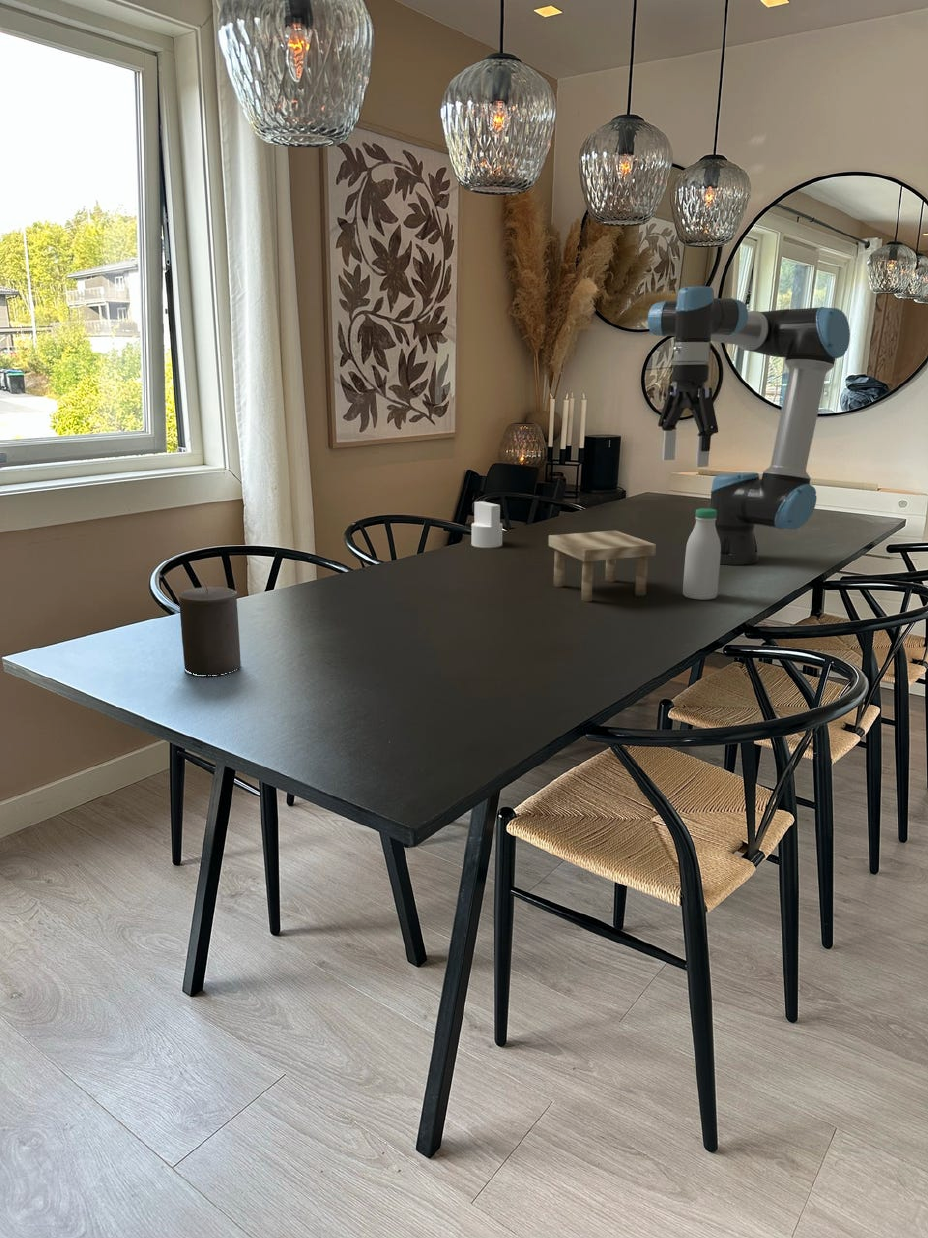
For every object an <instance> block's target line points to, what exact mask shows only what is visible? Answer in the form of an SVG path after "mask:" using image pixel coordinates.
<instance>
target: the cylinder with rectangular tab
mask: <svg viewBox="0 0 928 1238" xmlns="http://www.w3.org/2000/svg"><path fill="white" fill-rule="evenodd" d="M473 511H474V513H473V514H474V517H473V518H474V522H472V523H471V541H470V542H471V546H473V547H475V548H482V549H491V548H499V547H502V546H503V523H501V505H500V504H496V503H491V502H487V501H483V500H482V501H474V510H473Z"/></svg>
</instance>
